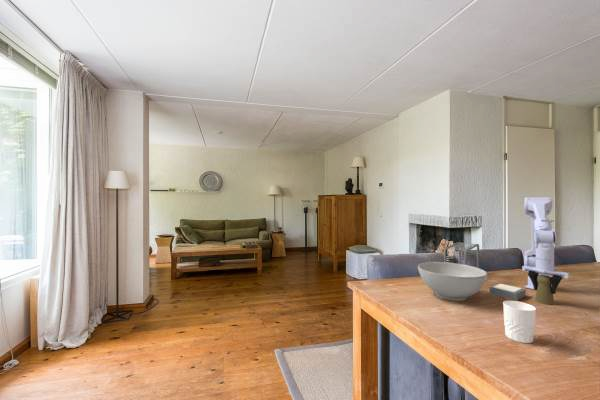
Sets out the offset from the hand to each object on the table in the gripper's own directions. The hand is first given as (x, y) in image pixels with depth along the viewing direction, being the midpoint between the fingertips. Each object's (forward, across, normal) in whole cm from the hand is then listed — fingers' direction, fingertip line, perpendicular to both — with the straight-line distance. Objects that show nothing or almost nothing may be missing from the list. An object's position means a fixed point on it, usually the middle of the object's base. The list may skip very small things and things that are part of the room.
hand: (544, 291), depth 112 cm
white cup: (+5, +6, -45) cm, 46 cm away
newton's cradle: (+5, -37, +9) cm, 38 cm away
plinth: (+4, -12, -3) cm, 13 cm away
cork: (+5, 0, 0) cm, 5 cm away
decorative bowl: (+5, -25, -26) cm, 36 cm away
